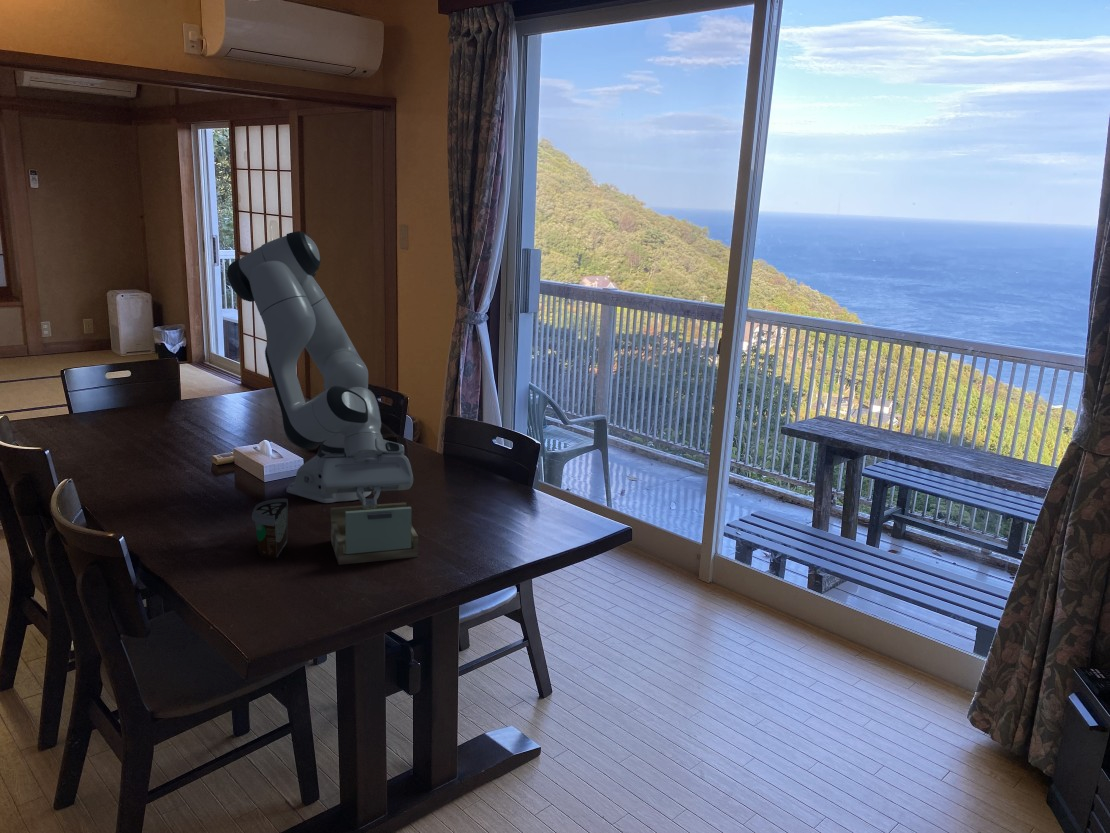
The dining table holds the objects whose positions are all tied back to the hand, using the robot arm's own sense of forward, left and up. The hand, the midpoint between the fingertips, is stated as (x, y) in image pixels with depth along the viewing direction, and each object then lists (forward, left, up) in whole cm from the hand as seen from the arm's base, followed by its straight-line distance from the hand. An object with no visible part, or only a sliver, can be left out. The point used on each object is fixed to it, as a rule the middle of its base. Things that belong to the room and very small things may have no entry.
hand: (370, 507), depth 176 cm
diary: (-52, +77, -11) cm, 94 cm away
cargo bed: (-1, +3, -11) cm, 11 cm away
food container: (-21, -8, -11) cm, 25 cm away
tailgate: (+4, -3, -9) cm, 10 cm away
